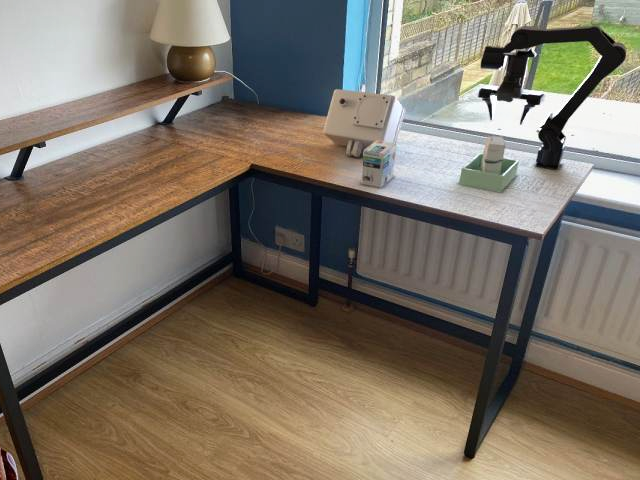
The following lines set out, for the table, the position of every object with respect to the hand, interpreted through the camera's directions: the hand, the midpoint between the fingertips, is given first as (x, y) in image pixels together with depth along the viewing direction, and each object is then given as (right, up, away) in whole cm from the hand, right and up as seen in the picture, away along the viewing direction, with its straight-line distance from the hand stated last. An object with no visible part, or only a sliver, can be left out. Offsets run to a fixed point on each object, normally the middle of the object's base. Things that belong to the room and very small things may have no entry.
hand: (505, 122), depth 190 cm
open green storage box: (-9, -20, -8) cm, 24 cm away
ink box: (-9, -20, -9) cm, 23 cm away
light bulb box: (-42, -20, -6) cm, 47 cm away
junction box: (-43, -5, +18) cm, 47 cm away
